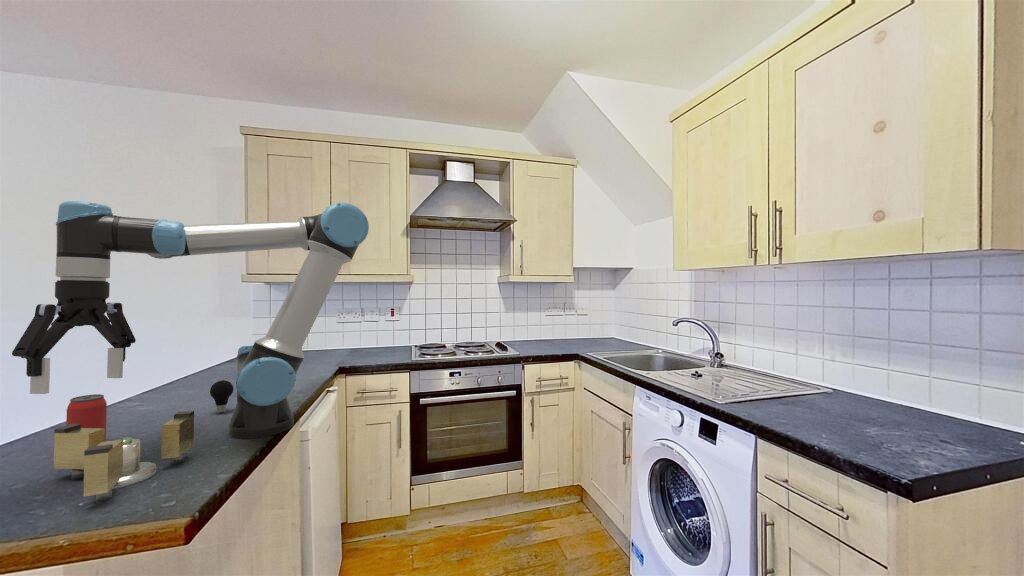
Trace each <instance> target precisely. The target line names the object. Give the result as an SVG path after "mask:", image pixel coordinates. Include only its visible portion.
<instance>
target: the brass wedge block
mask: <svg viewBox="0 0 1024 576" xmlns="http://www.w3.org/2000/svg"><path fill="white" fill-rule="evenodd" d="M53 431H54V435H53V437H54V438H53V469H55V470H57V469H59V470H64V469H65V470H72V469H84V451H85V450H86V449H88V448H89V447H94V446H97V445H99V444H100V443H101V442H104V435H105V429H103V428H81V424H70V425H64V426H61V427H56V428H54V430H53Z"/></svg>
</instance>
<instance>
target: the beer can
mask: <svg viewBox="0 0 1024 576" xmlns="http://www.w3.org/2000/svg"><path fill="white" fill-rule="evenodd" d="M104 396H105V395H104V394H99V393H98V394H88V395H87V394H86V395H81V396H76V397H73V398H71V399H69V401H70V402H69V404H68V406H67V408H66V420H65V421H66V423H65V424H66V425H70V424H81V428H103V429H105V435H104V442H106V441H107V411H108V410H107V409H108V405H107V400H106V399H105V397H104ZM66 425H65V426H66Z"/></svg>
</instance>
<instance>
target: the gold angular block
mask: <svg viewBox="0 0 1024 576" xmlns="http://www.w3.org/2000/svg"><path fill="white" fill-rule="evenodd" d="M194 435H195V410H185V411H178V412H175V413H174V414H173V418H172V419H170V420H168V421H167V422H165V423H163V424H162V425H161V460H163V459H172V458H174V457H179V456H181V455H182V454H183V453H184V454H185V453H186V452H187V451H188V450H189V449H191V447H193V446H194V444H195V443H194V441H195V436H194Z"/></svg>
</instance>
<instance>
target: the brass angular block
mask: <svg viewBox="0 0 1024 576" xmlns="http://www.w3.org/2000/svg"><path fill="white" fill-rule="evenodd" d="M122 476H123V439H122V440H117V439H114V440H106V442H101V443H100V444H99V445H97V446H94V447H89V448H88V449H86V450H85V451H84V478H83V497H90V496H96V495H97V494H103V493H108V491H109V490H110V489H111V488H112V487H113V486H114V485H115V484H116V483H117V482H118V481H119V480H120V478H121V477H122Z"/></svg>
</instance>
